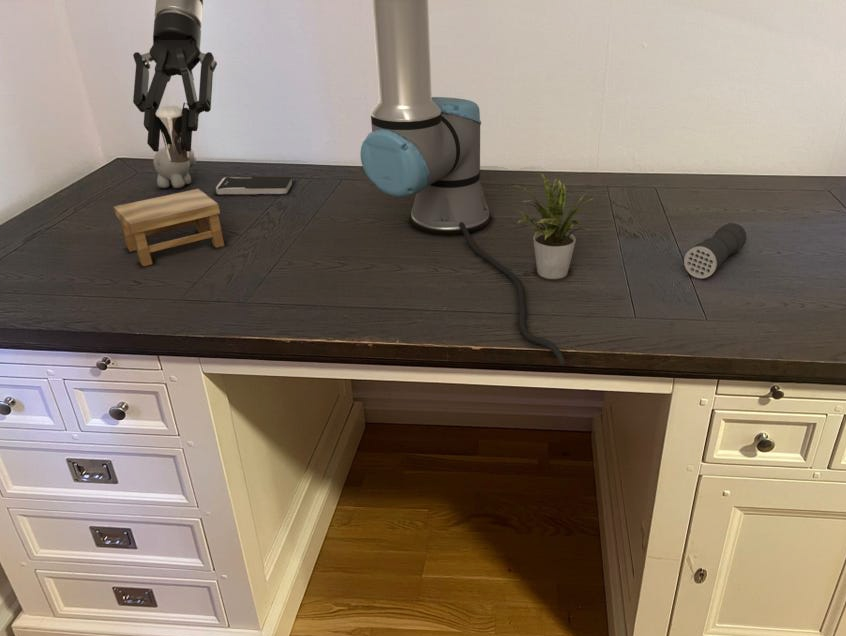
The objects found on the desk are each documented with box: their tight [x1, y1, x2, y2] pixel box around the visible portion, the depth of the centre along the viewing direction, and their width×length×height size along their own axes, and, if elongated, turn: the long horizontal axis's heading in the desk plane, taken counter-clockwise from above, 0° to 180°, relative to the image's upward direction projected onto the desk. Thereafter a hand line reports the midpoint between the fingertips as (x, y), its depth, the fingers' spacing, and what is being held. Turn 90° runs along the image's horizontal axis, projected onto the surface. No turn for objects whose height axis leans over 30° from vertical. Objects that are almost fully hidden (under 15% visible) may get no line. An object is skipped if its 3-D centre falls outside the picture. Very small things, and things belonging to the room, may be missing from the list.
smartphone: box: [215, 176, 293, 195], centre depth 156 cm, size 8×1×15 cm
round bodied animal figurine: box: [153, 146, 197, 189], centre depth 158 cm, size 7×12×8 cm, turn 165°
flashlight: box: [683, 222, 747, 279], centre depth 124 cm, size 15×5×5 cm, turn 142°
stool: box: [113, 188, 225, 267], centre depth 128 cm, size 10×15×8 cm, turn 128°
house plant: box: [512, 172, 595, 280], centre depth 118 cm, size 14×14×16 cm
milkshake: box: [156, 102, 189, 163], centre depth 122 cm, size 4×5×10 cm
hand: (169, 147), depth 119 cm, fingers closed on milkshake, 5 cm apart
